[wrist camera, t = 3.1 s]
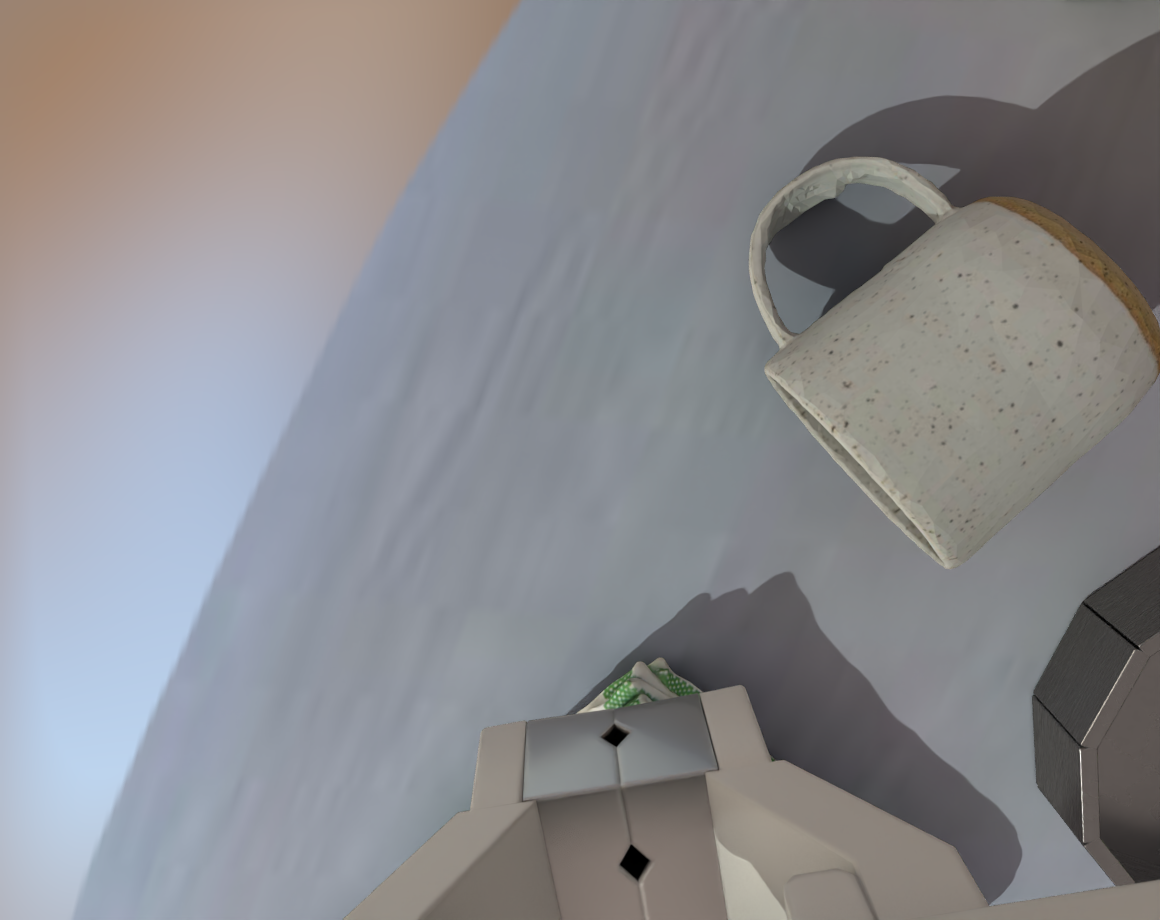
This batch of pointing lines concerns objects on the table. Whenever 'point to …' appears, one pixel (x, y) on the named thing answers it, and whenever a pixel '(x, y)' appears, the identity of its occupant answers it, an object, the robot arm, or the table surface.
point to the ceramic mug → (960, 357)
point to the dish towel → (643, 687)
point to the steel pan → (1107, 725)
